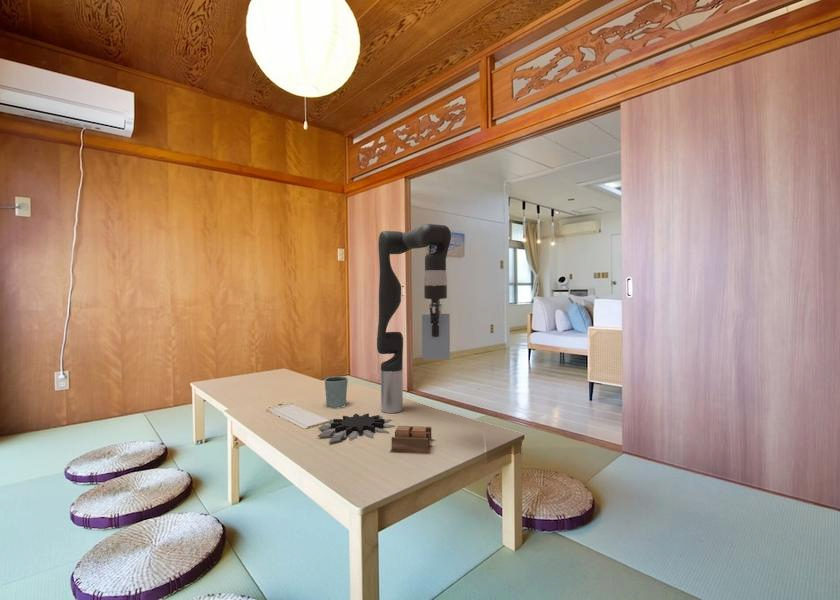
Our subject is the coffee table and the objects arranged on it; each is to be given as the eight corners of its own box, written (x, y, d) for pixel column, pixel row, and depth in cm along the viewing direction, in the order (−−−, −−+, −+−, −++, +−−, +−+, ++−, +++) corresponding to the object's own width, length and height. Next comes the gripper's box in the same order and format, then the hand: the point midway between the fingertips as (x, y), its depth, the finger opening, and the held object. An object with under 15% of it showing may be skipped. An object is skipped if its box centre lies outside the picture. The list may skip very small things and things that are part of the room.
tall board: (423, 357, 130) (423, 313, 130) (449, 358, 129) (449, 313, 129) (422, 359, 127) (421, 314, 127) (449, 359, 126) (449, 314, 126)
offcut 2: (413, 446, 120) (413, 427, 120) (426, 446, 119) (425, 427, 119) (411, 450, 117) (411, 430, 117) (424, 450, 116) (424, 430, 116)
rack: (397, 442, 127) (396, 425, 127) (433, 443, 126) (432, 427, 126) (389, 457, 115) (389, 439, 115) (429, 459, 114) (428, 440, 114)
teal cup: (341, 401, 178) (341, 375, 178) (352, 406, 170) (352, 378, 170) (320, 405, 171) (320, 378, 171) (331, 410, 163) (330, 382, 163)
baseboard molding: (300, 432, 139) (329, 424, 148) (300, 424, 139) (329, 417, 148) (265, 413, 161) (292, 408, 170) (265, 406, 161) (292, 401, 170)
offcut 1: (397, 445, 121) (397, 426, 121) (410, 446, 120) (410, 426, 120) (395, 449, 118) (395, 429, 118) (408, 449, 117) (408, 430, 117)
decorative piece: (296, 426, 133) (353, 404, 159) (296, 437, 133) (353, 414, 159) (364, 442, 118) (415, 416, 144) (364, 455, 118) (415, 426, 144)
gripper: (426, 285, 135) (427, 334, 136) (421, 284, 122) (422, 338, 122) (448, 284, 134) (448, 334, 135) (445, 283, 121) (445, 338, 121)
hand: (435, 335), depth 128 cm, fingers closed on tall board, 3 cm apart
